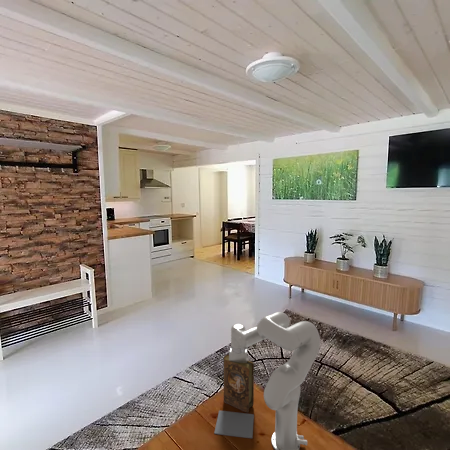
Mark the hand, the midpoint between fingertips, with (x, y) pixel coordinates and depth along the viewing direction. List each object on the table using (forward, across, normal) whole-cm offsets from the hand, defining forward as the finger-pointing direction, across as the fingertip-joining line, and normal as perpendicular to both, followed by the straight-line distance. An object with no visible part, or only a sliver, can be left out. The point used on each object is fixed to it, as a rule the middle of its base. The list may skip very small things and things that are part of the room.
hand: (238, 380), depth 151 cm
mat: (+13, 0, +15) cm, 20 cm away
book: (+13, 0, +1) cm, 13 cm away
